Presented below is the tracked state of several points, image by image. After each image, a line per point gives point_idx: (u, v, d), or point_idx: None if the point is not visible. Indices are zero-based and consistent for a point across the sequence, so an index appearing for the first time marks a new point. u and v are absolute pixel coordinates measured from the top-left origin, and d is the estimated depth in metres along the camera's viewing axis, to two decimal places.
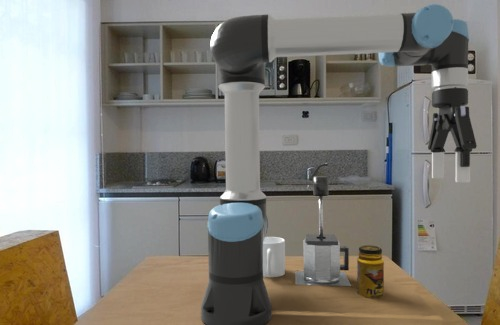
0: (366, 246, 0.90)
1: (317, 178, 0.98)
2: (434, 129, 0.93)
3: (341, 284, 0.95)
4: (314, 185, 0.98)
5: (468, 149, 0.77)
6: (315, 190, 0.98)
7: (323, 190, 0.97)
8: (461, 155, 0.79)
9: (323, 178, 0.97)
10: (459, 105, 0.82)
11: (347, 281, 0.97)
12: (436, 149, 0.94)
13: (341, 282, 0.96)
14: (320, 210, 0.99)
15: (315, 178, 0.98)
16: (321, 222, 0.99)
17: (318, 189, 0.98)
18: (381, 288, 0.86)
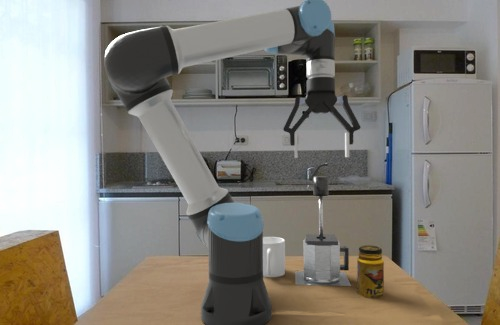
0: (366, 246, 0.90)
1: (317, 178, 0.98)
2: (345, 111, 0.99)
3: (341, 284, 0.95)
4: (314, 185, 0.98)
5: None
6: (315, 190, 0.98)
7: (323, 190, 0.97)
8: None
9: (323, 178, 0.97)
10: (307, 94, 0.99)
11: (347, 281, 0.97)
12: (348, 129, 0.98)
13: (341, 282, 0.96)
14: (320, 210, 0.99)
15: (315, 178, 0.98)
16: (321, 222, 0.99)
17: (318, 189, 0.98)
18: (381, 288, 0.86)
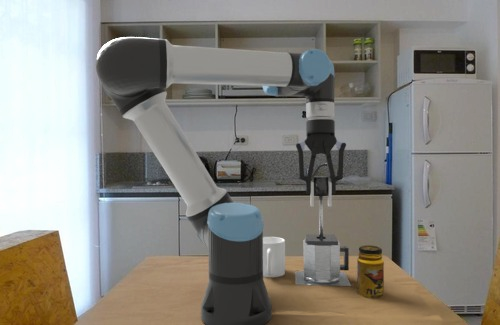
0: (366, 246, 0.90)
1: (317, 178, 0.98)
2: None
3: (341, 284, 0.95)
4: (314, 185, 0.98)
5: None
6: (315, 190, 0.98)
7: (323, 190, 0.97)
8: None
9: (323, 178, 0.97)
10: None
11: (347, 281, 0.97)
12: (330, 179, 0.99)
13: (341, 282, 0.96)
14: (320, 210, 0.99)
15: (315, 178, 0.98)
16: (321, 222, 0.99)
17: (318, 189, 0.98)
18: (381, 288, 0.86)
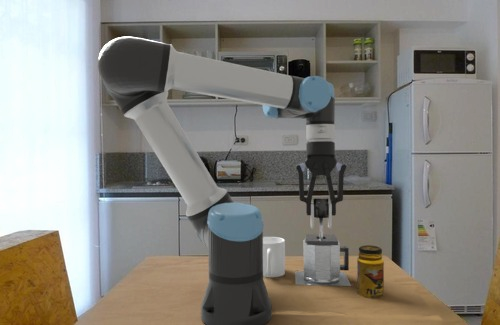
0: (366, 246, 0.90)
1: (317, 200, 0.98)
2: None
3: (341, 284, 0.95)
4: (314, 206, 0.99)
5: (303, 201, 1.00)
6: (315, 212, 0.98)
7: (323, 211, 0.97)
8: None
9: (323, 200, 0.97)
10: None
11: (347, 281, 0.97)
12: (331, 200, 0.99)
13: (341, 282, 0.96)
14: (320, 231, 0.99)
15: (315, 200, 0.98)
16: None
17: (318, 210, 0.98)
18: (381, 288, 0.86)
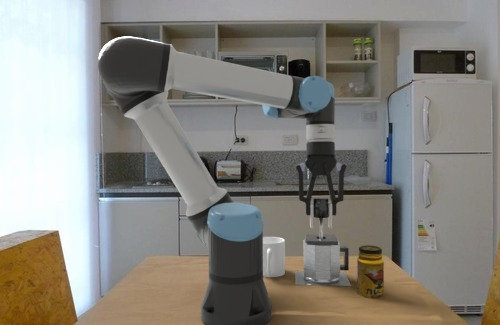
0: (366, 246, 0.90)
1: (317, 200, 0.98)
2: (338, 178, 1.00)
3: (341, 284, 0.95)
4: (314, 206, 0.99)
5: None
6: (315, 212, 0.98)
7: (323, 211, 0.97)
8: None
9: (323, 200, 0.97)
10: None
11: (347, 281, 0.97)
12: (331, 200, 0.99)
13: (341, 282, 0.96)
14: (320, 231, 0.99)
15: (315, 200, 0.98)
16: None
17: (318, 211, 0.98)
18: (381, 288, 0.86)
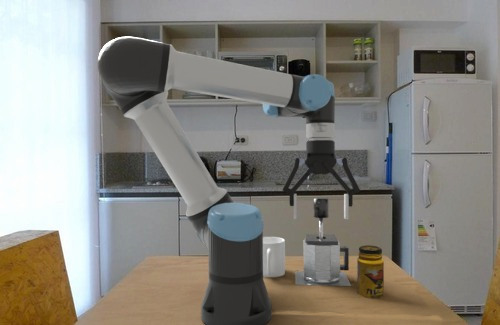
0: (366, 246, 0.90)
1: (317, 200, 0.98)
2: None
3: (341, 284, 0.95)
4: (314, 206, 0.99)
5: (286, 192, 1.00)
6: (315, 212, 0.98)
7: (323, 211, 0.97)
8: None
9: (323, 200, 0.97)
10: (306, 155, 0.99)
11: (347, 281, 0.97)
12: None
13: (341, 282, 0.96)
14: (320, 231, 0.99)
15: (315, 200, 0.98)
16: None
17: (318, 211, 0.98)
18: (381, 288, 0.86)
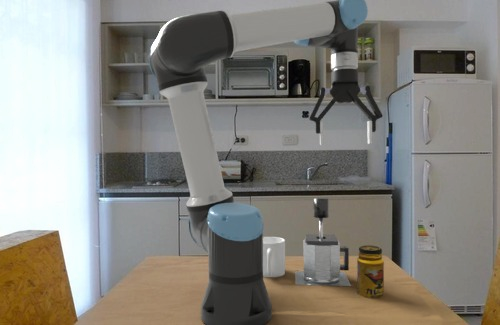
0: (366, 246, 0.90)
1: (317, 200, 0.98)
2: None
3: (341, 284, 0.95)
4: (314, 206, 0.99)
5: (312, 120, 1.07)
6: (315, 212, 0.98)
7: (323, 211, 0.97)
8: None
9: (323, 200, 0.97)
10: (331, 85, 1.05)
11: (347, 281, 0.97)
12: (370, 118, 1.05)
13: (341, 282, 0.96)
14: (320, 231, 0.99)
15: (315, 200, 0.98)
16: None
17: (318, 211, 0.98)
18: (381, 288, 0.86)
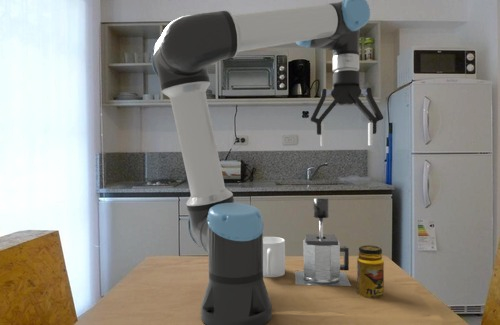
0: (366, 246, 0.90)
1: (317, 200, 0.98)
2: (368, 102, 1.06)
3: (341, 284, 0.95)
4: (314, 206, 0.99)
5: None
6: (315, 212, 0.98)
7: (323, 211, 0.97)
8: None
9: (323, 200, 0.97)
10: (333, 86, 1.06)
11: (347, 281, 0.97)
12: (371, 120, 1.05)
13: (341, 282, 0.96)
14: (320, 231, 0.99)
15: (315, 200, 0.98)
16: None
17: (318, 211, 0.98)
18: (381, 288, 0.86)
